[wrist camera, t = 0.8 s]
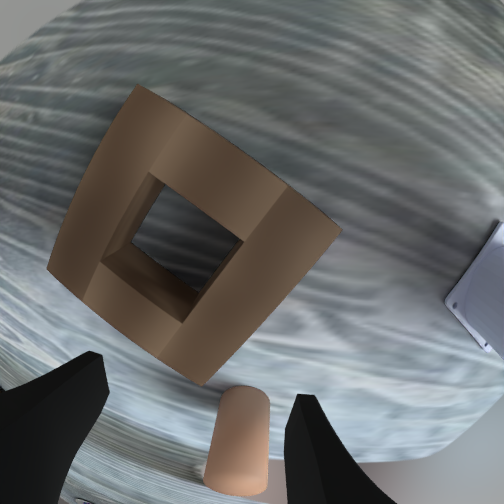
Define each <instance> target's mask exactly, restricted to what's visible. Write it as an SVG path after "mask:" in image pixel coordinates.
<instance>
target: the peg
mask: <svg viewBox="0 0 504 504" xmlns="http://www.w3.org/2000/svg"><path fill="white" fill-rule="evenodd" d="M269 421H270V400H269V398H268V396H267V395H266V394H265V393H264V392H263V391H261V390H259V389H257V388H254V387H250V386H236V387H232V388H230V389H228V390H226V391H225V392H224V393H223V394H222V396H221V399H220V404H219V408H218V413H217V418H216V422H215V427H214V432H213V436H212V441H211V446H210V450H209V455H208V459H207V464H206V469H205V473H204V478H203V482H204V483H205V485H206V486H207V487H209V488H210V489H212V490H214V491H216V492H219V493H222V494H226V495H231V496H252V495H256V494H259V493H262V492H263V491H265V489H266V488H267V481H268V454H269Z"/></svg>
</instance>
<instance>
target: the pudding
mask: <svg viewBox="0 0 504 504" xmlns="http://www.w3.org/2000/svg"><path fill="white" fill-rule="evenodd" d="M76 502H77V503H78V504H92V503H89V502H88V503H86V502H87V501H84V500H80V499H76ZM83 502H84V503H83Z"/></svg>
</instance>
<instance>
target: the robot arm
mask: <svg viewBox="0 0 504 504" xmlns="http://www.w3.org/2000/svg"><path fill="white" fill-rule="evenodd" d="M454 303H455V304H454ZM453 304H454V306H452V305H453ZM445 305H446V306H447V308H448V309H449V310H450V311H451V312H452V313H453V314H454V315H455V316H456V318H457V319H458V320H459V321H460V322H461V323H462V324H463V326H464V327H465V328H466V329H467V330H468V331H469V333H470V334H471V335H472V336H473V337H474V338H475V340H476V341H477V342H478V343H479V344H480V346H481V347H482V348H483V349H484V351H485V352H486V353H488V352H490V351H491V350H492V349H494V350H495V351H496V352H497V353H498V354H499V355H500V356H501V357H502V358H503V359H504V222H499V224H498V225H497V227H496V228H495V230H494V232H493V233H492V235H491V236H490V238H489V239H488V241H487V243H486V244H485V246H484V247H483V249H482V250H481V252H480V253H479V254H478V256H477V257H476V259H475V260H474V262H473V263H472V264H471V266H470V267H469V269H468V270H467V271H466V273H465V274H464V275H463V277H462V278H461V279H460V281H459V282H458V283H457V285H456V286H455V287H454V288H453V290H452V291H451V292H450V293H449V295H448V296H447V297H446V299H445ZM109 393H110V391H109V387H108V382H107V377H106V372H105V367H104V362H103V356H102V355H101V354H98V353H95V352H92V351H87V352H85V353H83V354H81V355H80V356H78V357H76V358H74V359H72V360H71V361H69V362H67V363H65V364H63V365H62V366H60V367H58V368H56V369H54V370H52V371H50V372H49V373H47V374H45V375H43V376H40V377H38V378H36V379H34V380H32V381H30V382H28V383H26V384H23V385H21V386H18V387H16V388H13V389H10V390H7V391H4V392H1V393H0V504H58V500H59V496H60V493H61V490H62V487H63V484H64V481H65V478H66V476H67V473H68V471H69V468H70V466H71V464H72V461H73V459H74V457H75V455H76V453H77V451H78V450H79V448H80V446H81V445H82V443H83V441H84V440H85V438H86V437H87V435H88V433H89V432H90V430H91V428H92V427H93V425H94V424H95V422H96V420H97V419H98V417H99V415H100V414H101V412H102V409H103V407H104V405H105V403H106V400H107V398H108V395H109ZM284 460H285V473H286V487H287V500H288V504H397V503H395V502H394V501H393V500H392V499H391V498H390V497H388V496H387V495H386V494H385V493H384V492H383V491H382V490H380V489H379V488H378V487H377V486H376V485H375V484H374V483H373V481H372V480H370V478H369V477H368V476H367V475H366V474H365V473H364V472H363V470H362V469H361V468H360V467H359V466H358V464H357V463H356V462H355V460H354V459H353V458H352V456H351V455H350V454H349V452H348V451H347V449H346V448H345V447H344V445H343V444H342V442H341V440H340V439H339V437H338V436H337V434H336V433H335V431H334V429H333V428H332V426H331V424H330V422H329V421H328V419H327V417H326V415H325V413H324V412H323V410H322V408H321V406H320V404H319V402H318V400H317V398H316V397H315V395H307V394H297V396H296V399H295V402H294V405H293V408H292V411H291V414H290V416H289V419H288V422H287V425H286V428H285V440H284Z"/></svg>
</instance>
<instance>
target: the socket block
mask: <svg viewBox="0 0 504 504" xmlns="http://www.w3.org/2000/svg"><path fill="white" fill-rule="evenodd" d="M165 184H166V185H167V186H169V187H170V188H172V189H173V190H174V191H176V192H177V193H178V194H180V195H181V196H183V197H184V198H185V199H187V200H188V201H189V202H191V203H192V204H193V205H195V206H196V207H198V208H199V209H200V210H202V211H203V212H204V213H206V214H207V215H209V216H210V217H211V218H213V219H214V220H215V221H217V222H218V223H219V224H221V225H222V226H224V227H225V228H226V229H228V230H229V231H230V232H232V233H233V234H234V235H236V236H237V237H239V238H240V239H239V240H238V242H237V243H236V244H235V246H234V247H233V248H232V250H231V251H230V252H229V254H228V255H227V256H226V258H225V259H224V260H223V261H222V263H221V264H220V265H219V267H218V268H217V269H216V271H215V272H214V273H213V275H212V276H211V277H210V279H209V280H208V281H207V283H206V284H205V285H204V287H203V288H202V290H201V291H200V292H199V293H198V292H197V291H195V290H194V289H193V288H191V287H190V286H188V285H187V284H186V283H184V282H183V281H181V280H180V279H179V278H177V277H176V276H175V275H173V274H172V273H170V272H169V271H168V270H166V269H165V268H164V267H162V266H161V265H160V264H158V263H157V262H156V261H154V260H153V259H152V258H150V257H149V256H148V255H146V254H145V253H144V252H143V251H141V250H140V249H139V248H137V247H136V246H135V245H134V244H132V243H131V241H132V239H133V237H134V235H135V234H136V232H137V230H138V228H139V227H140V225H141V223H142V221H143V220H144V218H145V216H146V215H147V213H148V211H149V210H150V208H151V206H152V205H153V203H154V201H155V200H156V198H157V197H158V195H159V193H160V192H161V190H162V189H163V187H164V186H165ZM341 231H342V229H341V228H340V227H339V226H338V225H337V224H336V223H335V222H334V221H332V220H331V219H330V218H329V217H328V216H327V215H326V214H325V213H323V212H322V211H321V210H320V209H318V208H317V207H316V206H315V205H313V204H312V203H311V202H310V201H308V200H307V199H306V198H305V197H303V196H302V195H301V194H300V193H298V192H297V191H296V190H294V189H293V188H292V187H291V186H289V185H288V184H287V183H285V182H284V181H283V180H281V179H280V178H279V177H278V176H276V175H275V174H274V173H272V172H271V171H270V170H268V169H267V168H265V167H264V166H263V165H261V164H260V163H259V162H257V161H256V160H255V159H253V158H252V157H250V156H249V155H248V154H246V153H245V152H244V151H242V150H241V149H239V148H238V147H236V146H235V145H234V144H232V143H231V142H229V141H228V140H226V139H225V138H224V137H222V136H221V135H219V134H218V133H216V132H215V131H213V130H212V129H210V128H209V127H207V126H206V125H204V124H203V123H201V122H200V121H198V120H197V119H195V118H194V117H192V116H191V115H189V114H188V113H186V112H185V111H183V110H181V109H180V108H178V107H177V106H175V105H174V104H172V103H170V102H169V101H167V100H166V99H164V98H162V97H160V96H159V95H157V94H155V93H153V92H152V91H150V90H148V89H146V88H144V87H143V86H141V85H139V84H137V85H136V87H135V88H134V90H133V91H132V92H131V94H130V95H129V97H128V98H127V100H126V101H125V103H124V104H123V106H122V108H121V109H120V111H119V112H118V114H117V116H116V117H115V119H114V120H113V122H112V124H111V125H110V127H109V129H108V131H107V132H106V134H105V136H104V137H103V139H102V141H101V143H100V145H99V146H98V148H97V150H96V152H95V154H94V156H93V158H92V160H91V161H90V163H89V165H88V167H87V169H86V171H85V173H84V175H83V178H82V180H81V182H80V184H79V186H78V188H77V190H76V192H75V195H74V197H73V199H72V202H71V204H70V206H69V209H68V211H67V213H66V216H65V218H64V221H63V223H62V226H61V228H60V231H59V234H58V236H57V239H56V242H55V245H54V247H53V250H52V253H51V256H50V259H49V262H48V265H47V270H48V271H49V272H50V273H51V274H52V275H53V276H54V277H55V278H56V279H57V280H58V281H59V282H60V283H62V284H63V285H64V286H65V287H66V288H67V289H68V290H69V291H70V292H72V293H73V294H74V295H75V296H76V297H77V298H78V299H80V300H81V301H82V302H83V303H84V304H85V305H87V306H88V307H89V308H90V309H91V310H93V311H94V312H95V313H96V314H98V315H99V316H100V317H101V318H102V319H104V320H105V321H106V322H108V323H109V324H110V325H111V326H113V327H114V328H115V329H117V330H118V331H119V332H121V333H122V334H123V335H125V336H126V337H127V338H129V339H130V340H131V341H133V342H134V343H135V344H137V345H138V346H140V347H141V348H142V349H144V350H145V351H147V352H148V353H150V354H151V355H153V356H154V357H155V358H157V359H158V360H160V361H161V362H163V363H164V364H166V365H167V366H169V367H171V368H172V369H174V370H175V371H177V372H178V373H180V374H182V375H183V376H185V377H186V378H188V379H190V380H191V381H193V382H195V383H196V384H198V385H200V386H201V387H202V386H203V385H204V384H205V383H206V382H207V381H208V380H209V379H210V378H211V377H212V376H213V375H214V374H215V373H216V372H217V371H218V370H219V369H220V368H221V367H222V366H223V365H224V363H225V362H226V361H227V360H228V359H229V358H230V357H231V356H232V355H233V354H234V353H235V352H236V351H237V350H238V349H239V348H240V347H241V346H242V345H243V343H244V342H245V341H246V340H247V339H248V338H249V337H250V336H251V335H252V334H253V333H254V332H255V331H256V330H257V328H258V327H259V326H260V325H261V324H262V323H263V322H264V321H265V320H266V319H267V317H268V316H269V315H270V314H271V313H272V312H273V311H274V310H275V309H276V307H277V306H278V305H279V304H280V303H281V302H282V301H283V300H284V298H285V297H286V296H287V295H288V294H289V293H290V292H291V291H292V289H293V288H294V287H295V286H296V285H297V284H298V282H299V281H300V280H301V279H302V278H303V277H304V276H305V274H306V273H307V272H308V271H309V270H310V269H311V267H312V266H313V265H314V264H315V263H316V261H317V260H318V259H319V258H320V257H321V256H322V254H323V253H324V252H325V251H326V250H327V248H328V247H329V246H330V245H331V244H332V242H333V241H334V240H335V239H336V237H337V236H338V235H339V234H340V233H341Z"/></svg>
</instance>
